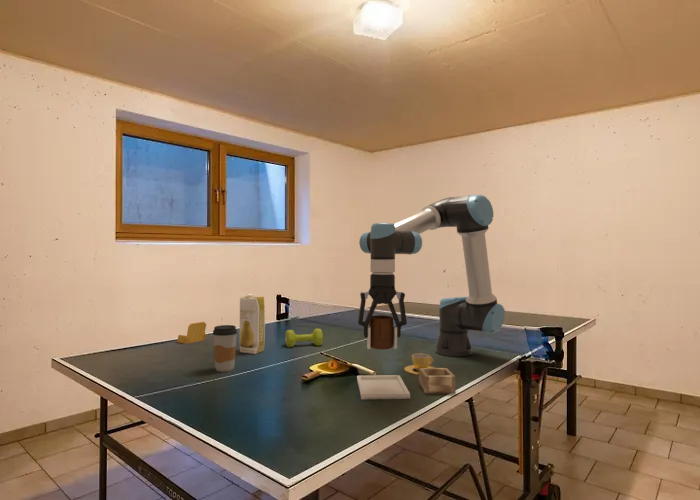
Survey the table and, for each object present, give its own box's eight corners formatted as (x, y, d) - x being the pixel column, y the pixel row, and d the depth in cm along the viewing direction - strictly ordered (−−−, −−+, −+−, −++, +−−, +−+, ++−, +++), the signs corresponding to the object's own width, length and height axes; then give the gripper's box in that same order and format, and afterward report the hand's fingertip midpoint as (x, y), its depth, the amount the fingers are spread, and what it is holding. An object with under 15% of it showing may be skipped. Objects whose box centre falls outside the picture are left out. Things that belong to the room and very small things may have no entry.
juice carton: (236, 352, 176) (237, 294, 176) (248, 348, 183) (248, 292, 183) (256, 355, 172) (256, 295, 172) (266, 350, 179) (267, 293, 180)
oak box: (446, 383, 137) (446, 368, 137) (455, 393, 128) (455, 376, 128) (418, 383, 136) (419, 368, 136) (425, 393, 127) (425, 376, 127)
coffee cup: (241, 367, 154) (241, 325, 154) (227, 373, 146) (228, 329, 146) (221, 365, 157) (222, 324, 157) (207, 371, 149) (207, 328, 149)
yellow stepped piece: (196, 338, 204) (196, 319, 204) (208, 341, 198) (208, 321, 198) (175, 342, 196) (176, 322, 196) (187, 345, 190) (187, 324, 190)
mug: (396, 353, 125) (396, 321, 125) (370, 353, 125) (371, 321, 125) (391, 344, 137) (391, 315, 137) (368, 344, 137) (368, 315, 137)
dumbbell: (320, 343, 196) (320, 327, 196) (324, 346, 188) (324, 330, 188) (284, 344, 192) (284, 328, 192) (286, 348, 184) (286, 332, 184)
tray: (399, 379, 140) (399, 375, 140) (410, 398, 122) (410, 393, 122) (357, 380, 140) (357, 375, 140) (361, 399, 122) (361, 394, 122)
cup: (416, 377, 144) (417, 361, 144) (397, 368, 155) (397, 353, 155) (445, 373, 150) (445, 357, 150) (425, 364, 160) (425, 350, 160)
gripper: (412, 272, 135) (412, 345, 135) (348, 272, 134) (348, 345, 134) (417, 274, 128) (417, 350, 128) (350, 273, 127) (349, 351, 127)
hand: (381, 347), depth 131 cm, fingers closed on mug, 7 cm apart
